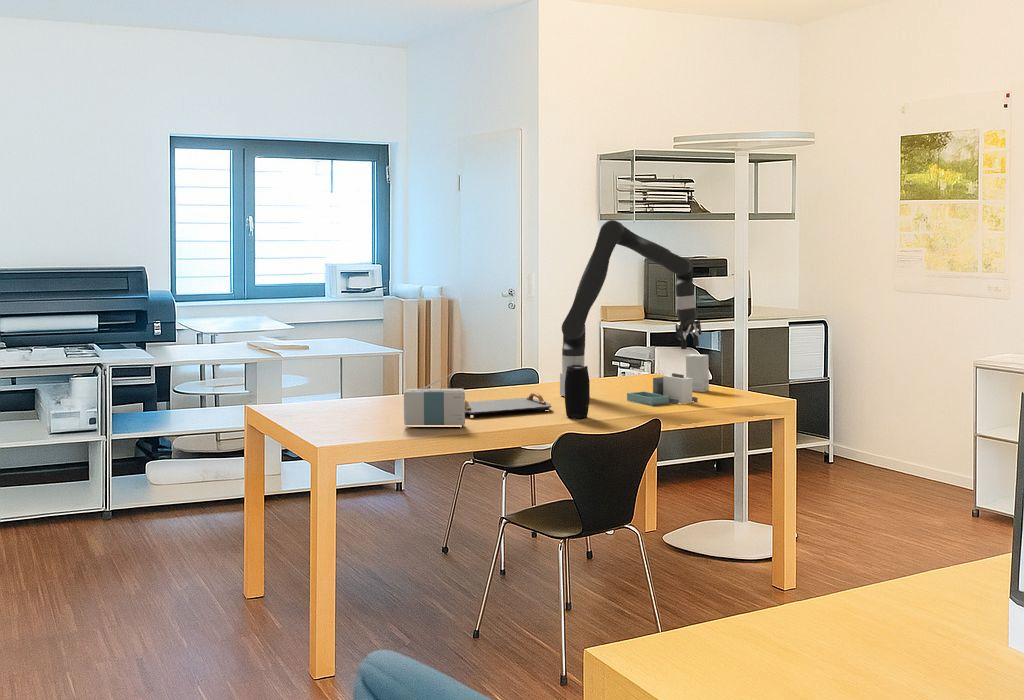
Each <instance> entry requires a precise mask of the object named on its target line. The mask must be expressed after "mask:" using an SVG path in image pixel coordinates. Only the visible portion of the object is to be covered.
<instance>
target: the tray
mask: <svg viewBox="0 0 1024 700" xmlns="http://www.w3.org/2000/svg"><path fill="white" fill-rule="evenodd" d="M626 401H627V402H633V403H638V404H641V405H646V406H651V407H654V406H662V405H670V403H669V396H664V395H660V394H655V393H653V392H650V391H636V392H627V393H626Z"/></svg>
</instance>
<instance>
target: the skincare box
mask: <svg viewBox="0 0 1024 700" xmlns="http://www.w3.org/2000/svg"><path fill="white" fill-rule="evenodd" d="M709 365H710V364H709V354H695V353H690V354H686V355H685V377H687V378H693V381H692V392H693V393H694V392H697V393H705V392H708V391H709V390H710V384H709V383H710V382H709V381H710V377H709V376H710V374H709V372H710V369H709V367H710V366H709Z"/></svg>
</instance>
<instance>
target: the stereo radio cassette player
mask: <svg viewBox="0 0 1024 700" xmlns="http://www.w3.org/2000/svg"><path fill="white" fill-rule="evenodd" d="M460 371H461V369H458V370H457V371H454V372H452V373H450V374H448V375H446V376H443V377H442V378H440V379H438V380H436V381H433V382H432V383H430V384H427V385H426V386H423V387H422V388H406V389H405V390H404V392H403V425H404V424H405V425H464V426H465V425H466V413H465V400H466V395H465V394H466V393H465V389H464V388H429V387H431V386H432V385H435V384H437V383H439V382H441V381H443V380H445V379H446V378H449V377H450V376H452V375H454V374H456V373H457V372H460ZM405 425H404V426H405Z"/></svg>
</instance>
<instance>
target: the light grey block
mask: <svg viewBox="0 0 1024 700" xmlns="http://www.w3.org/2000/svg"><path fill="white" fill-rule="evenodd" d="M662 377H663V395H664V396H669V398H673V399H678V400H679V402H678V403H681V404H680V405H685V404H684V403H690V404H692V403H693V402H692V397H693V391H692V381H693V378H687V377H686V376H685V375H684V374H679V373H676V372H673V373H671V375H668V374H667V375H663V376H662ZM691 402H692V403H691Z"/></svg>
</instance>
